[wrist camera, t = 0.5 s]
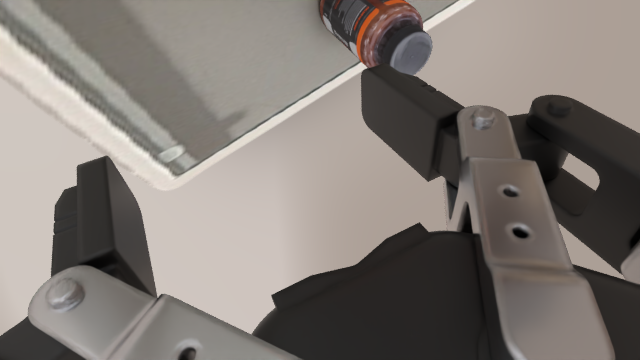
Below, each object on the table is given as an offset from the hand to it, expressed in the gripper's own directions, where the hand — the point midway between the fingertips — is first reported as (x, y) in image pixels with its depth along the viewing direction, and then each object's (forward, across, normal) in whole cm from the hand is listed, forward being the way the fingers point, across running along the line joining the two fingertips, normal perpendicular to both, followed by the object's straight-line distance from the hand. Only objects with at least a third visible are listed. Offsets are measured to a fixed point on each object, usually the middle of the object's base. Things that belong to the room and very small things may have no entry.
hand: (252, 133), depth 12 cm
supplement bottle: (+24, -17, +6) cm, 30 cm away
